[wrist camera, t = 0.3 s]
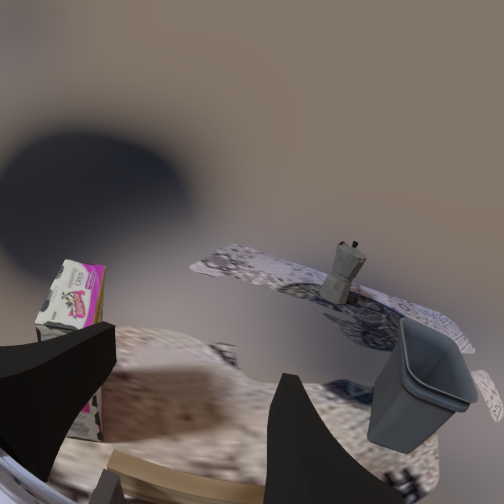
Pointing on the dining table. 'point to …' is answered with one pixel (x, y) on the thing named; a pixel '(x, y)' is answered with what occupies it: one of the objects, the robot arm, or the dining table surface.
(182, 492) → the shelf wall
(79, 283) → the candy bar box
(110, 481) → the bookend
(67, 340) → the robot arm
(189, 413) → the dining table surface
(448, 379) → the storage bin
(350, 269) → the coffeepot
